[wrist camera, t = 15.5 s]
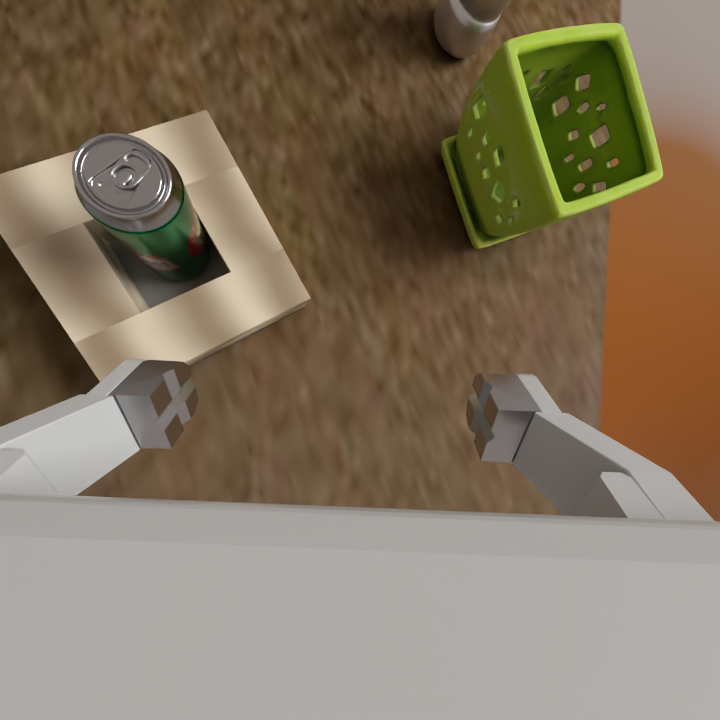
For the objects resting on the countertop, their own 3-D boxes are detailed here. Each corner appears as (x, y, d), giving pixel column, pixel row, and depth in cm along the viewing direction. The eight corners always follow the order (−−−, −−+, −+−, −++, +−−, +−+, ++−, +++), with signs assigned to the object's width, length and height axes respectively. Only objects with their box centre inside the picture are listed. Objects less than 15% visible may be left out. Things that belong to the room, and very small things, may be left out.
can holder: (137, 393, 28) (111, 399, 23) (22, 218, 26) (-34, 184, 21) (303, 307, 32) (310, 298, 27) (215, 150, 30) (206, 109, 25)
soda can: (130, 257, 27) (35, 176, 15) (170, 211, 28) (108, 102, 16) (186, 295, 28) (137, 246, 16) (223, 250, 29) (200, 174, 17)
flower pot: (461, 267, 37) (559, 220, 25) (418, 145, 36) (499, 33, 24) (551, 233, 41) (673, 177, 29) (515, 121, 39) (628, 14, 27)
